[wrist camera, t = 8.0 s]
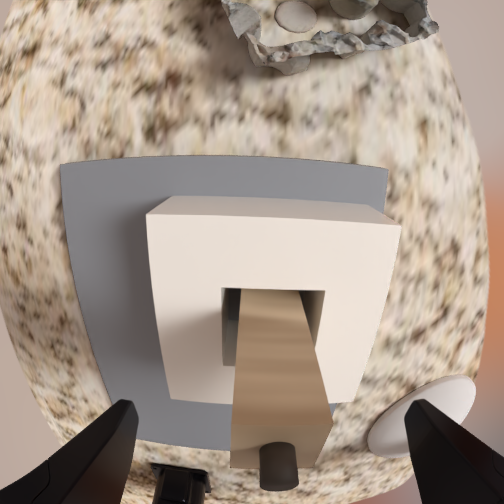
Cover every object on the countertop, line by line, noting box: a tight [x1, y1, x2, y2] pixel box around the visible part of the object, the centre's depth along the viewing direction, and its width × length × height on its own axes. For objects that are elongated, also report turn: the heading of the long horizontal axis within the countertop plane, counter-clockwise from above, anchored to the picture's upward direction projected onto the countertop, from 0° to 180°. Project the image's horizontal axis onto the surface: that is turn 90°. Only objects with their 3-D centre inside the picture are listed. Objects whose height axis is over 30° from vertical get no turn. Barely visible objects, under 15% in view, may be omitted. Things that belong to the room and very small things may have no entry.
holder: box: [146, 196, 402, 404], centre depth 14 cm, size 10×10×4 cm
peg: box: [230, 288, 334, 491], centre depth 11 cm, size 3×3×11 cm
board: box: [60, 155, 388, 451], centre depth 18 cm, size 24×18×1 cm
